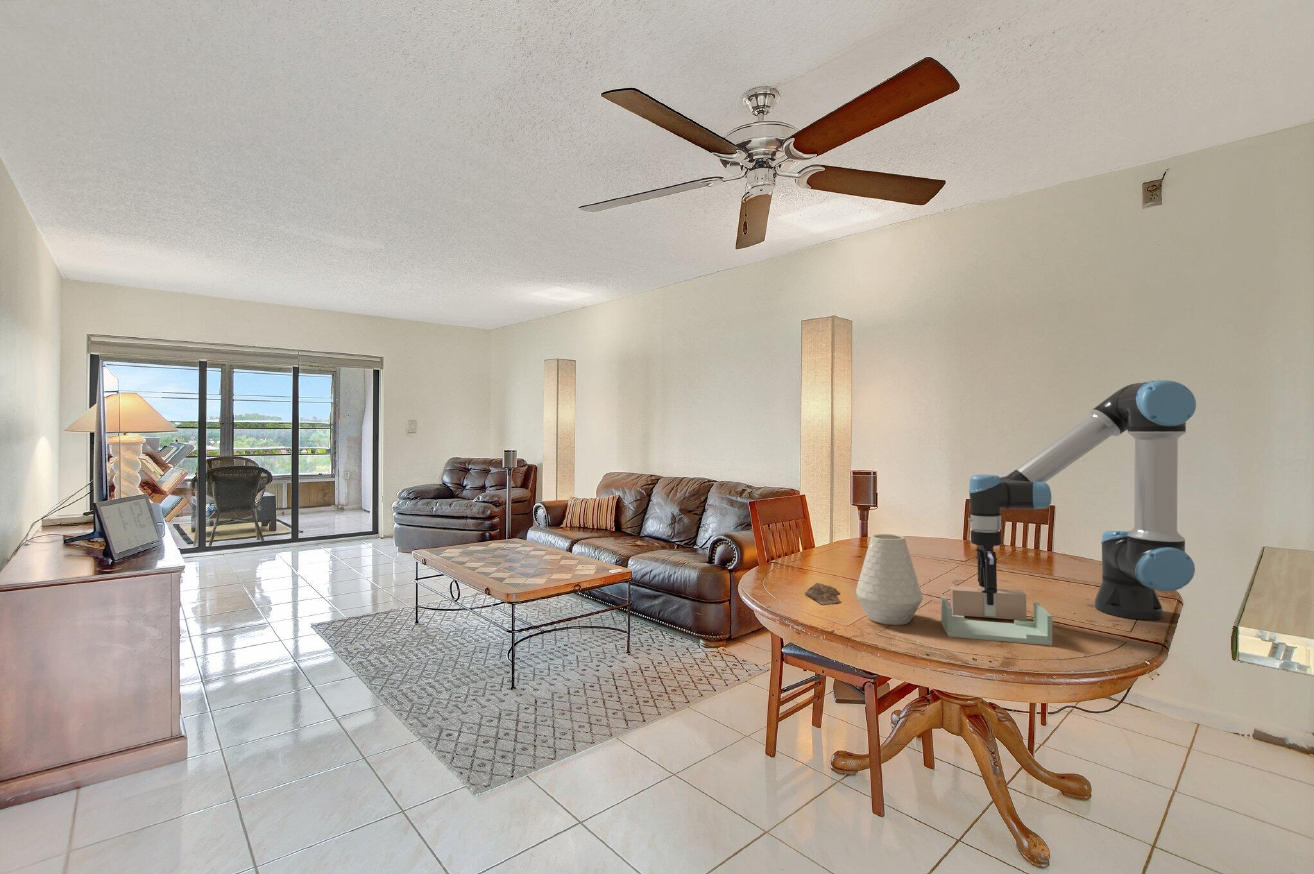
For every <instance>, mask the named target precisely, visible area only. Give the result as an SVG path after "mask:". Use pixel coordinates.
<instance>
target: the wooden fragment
mask: <svg viewBox="0 0 1314 874" xmlns="http://www.w3.org/2000/svg"><path fill="white" fill-rule="evenodd" d="M840 593H841V592H840V591H839V590H837V588H835V587H833V586H831V585H825V584H823V583H821V582H816V583H815V584H813V585H812V586H811V587H810V588H808V589H807V590H806V591H805V592H804V595H806V596H807V597H809V598H811V599H812V600H813V601H815V602H817V603H819V604H821V605H820V606H831V604H832V605H837V604H841V603H842V601H841V600H840V598H838V595H840Z"/></svg>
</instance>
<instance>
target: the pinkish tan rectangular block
mask: <svg viewBox="0 0 1314 874" xmlns="http://www.w3.org/2000/svg"><path fill="white" fill-rule="evenodd" d="M949 586H950V606H951V608H952V615H958V616H964V617H973V618H974V617H977V618H988V619H1001V620H1013V621H1014V620H1022V621H1027V594H1026V593H1025V592H1024V591H1023V590H1022V589H1021V590H1020V589H1006V588H1003V589H1002V588H997V593H995V608H996V617H992V616H984V593H982V591H984V590H985V589H984V588H980V587H971V586H957V585H955V586H954V585H949Z"/></svg>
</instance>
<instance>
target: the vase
mask: <svg viewBox="0 0 1314 874" xmlns="http://www.w3.org/2000/svg"><path fill="white" fill-rule="evenodd" d="M916 574H917V573H916V570H915V567H914V563H913V560H912V557H911V555H910V550H909V547H908V544H907V541H906V537H905V536H902V535H899V534H891V533H878V534H877V533H876V534H872V535H871V536H870V540H869V544H868V546H867V550H866V553H865V557H864V560H863V565H862V567H861V571H860V575H859V579H858V582H857V586H856V588H855V596H856V598H857V600H858V601H859V603H860V605H861V607H862V609H863V611H864V612H865V614H866V617H867V618H868V620H870V621H872V622H873V623H874V622H875V623H877V624H881V625H886V626H887V625H889V626H903V625H907V624H908V623H910V622H911V621H912V619H913V618H914V615H915V614H916V612H917V611H918V608H919V607H920V606H921V603H922V602H923V599H924V598H923V593H922V590H921V587H920V584H919V580H918V578H917V577H918V576H917V575H916Z"/></svg>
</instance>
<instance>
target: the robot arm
mask: <svg viewBox="0 0 1314 874" xmlns="http://www.w3.org/2000/svg"><path fill="white" fill-rule="evenodd" d="M1196 408H1197V401H1196V398H1195V395H1194V393H1193V392H1192V390H1190V389H1189V388H1188V387H1187V386H1186V385H1184V384H1183V383H1181V382H1178V381H1175V380H1168V379H1167V380H1163V379H1161V380H1160V379H1157V380H1149V381H1146V382H1137V383H1131V384H1128V385H1126V386H1124V387H1122V388H1120V389H1118V390H1117V391H1115V392H1114V393H1113V394H1111V395H1110V396H1108V397H1107V398H1106V399H1104V400H1103V401H1102V402H1101V403H1099V404H1098V405H1096V406H1095V407H1094V408H1092V409H1091V410H1090V411H1089V416H1088V417H1086V418H1084V419H1083V420H1082V421H1080V423H1078V424H1077V425H1075V426H1074V427H1073V428H1071V429H1070V430H1068V431H1067V432H1066V433H1064V434H1063V435H1061V436H1060V437H1058V438H1057V439H1056V440H1055V441H1054V442H1052V443H1050V444H1049V445H1047V446H1046V447H1045V448H1043V449H1042V450H1041V451H1039V452H1038V453H1036V455H1034V456H1032V457H1031V458H1029V460H1027V461H1026V462H1024V463H1023V464H1021V465H1020V466H1019V467H1017V468H1016V469H1015V470H1013V471H1012V472H1010V473H1009V474H1007V475H1006V476H1001V477H1000V476H999V475H996V474H973V475H972V476H971V477H970V478H969V490H968V492H969V509H970V510H969V511H970V512H969V514H970V515H969V516H970V517H968V519H967V520H968V521H967V522H970V528H971V531H970V543H971V544H972V545H976V546H978V547H976V550H975V551H976V557H977V582H978V585H979V588H984V589H985V590H984V591H982V593H984V616H992V617H996V608H995V593H997V589H998V586H997V585H998V583H997V580H998V579H997V577H998V574H997V561H998V557H997V553H996V552H995V551H994V547H998V546H1001V545H1002V532H1001V531H1000V530H1002V514H1001V510H1034V511H1035V510H1043V509H1044V510H1046V509H1048V508H1049V507H1050V506H1051V503H1052V490H1051V488H1050V485H1049V484H1048V483H1047V482H1048V481H1049V480H1050V479H1052V478H1053V477H1054V476H1056V475H1058V474H1059V473H1061V472H1062V471H1064V470H1065V469H1067V468H1068V467H1069V466H1071V465H1072V464H1074V463H1075V462H1076V461H1078V460H1079V459H1080V458H1082V457H1083V456H1085V455H1086V454H1088V453H1089V452H1091V451H1092V450H1093V449H1094V448H1096V447H1097V446H1099V445H1100V444H1102V443H1103V442H1105V441H1107V440H1108V439H1109V438H1110V437H1112V436H1113V437H1114V436H1115V437H1118V436H1120V435H1121V434H1123V433H1124V432H1126V431H1127V433H1128V435H1130V436H1131V437H1132V438H1133V439H1134V528H1133V529H1131V531H1129V530H1128V531H1127V530H1107V531H1104V532H1103V533H1102V535H1101V537H1102V539H1101V542H1100V543H1101V571H1102V572H1101V573H1102V574H1101V578H1102V579H1101V580H1102V581H1101V584H1100V586H1099V589H1098V592H1097V593H1096V597H1095V598H1094V608H1095V609H1096V610H1098V611H1100V612H1102V613H1105V614H1108V615H1113V616H1116V617H1121V618H1127V619H1132V620H1135V619H1136V620H1150V621H1151V620H1159V619H1162V618H1163V616H1164V615H1163V614H1164V610H1163V606H1162V603H1161V601H1160V598H1159V596H1158V593H1157V591H1159V592H1174V591H1178V590H1181V589H1182V588H1184V587H1186V586H1187V585H1188V584H1189V583H1190V582H1191V581H1192V580H1193V578H1194V576H1195V573H1196V567H1195V562H1194V560H1193V559H1192V557H1191V556H1190V555H1189V554H1188V553H1187V552H1186V538H1185V537H1184V536H1183V535H1181V534H1180V533H1179V532H1178V465H1179V464H1178V454H1179V453H1178V452H1179V451H1178V449H1179V448H1178V447H1179V446H1178V444H1179V439H1180V438H1181V437H1182V436H1183V435H1185V434H1186V432H1187V430H1186V428H1187V426H1186V425H1187V421H1188V420H1190V418H1191V417H1193V415H1194V414H1195V412H1196Z"/></svg>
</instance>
